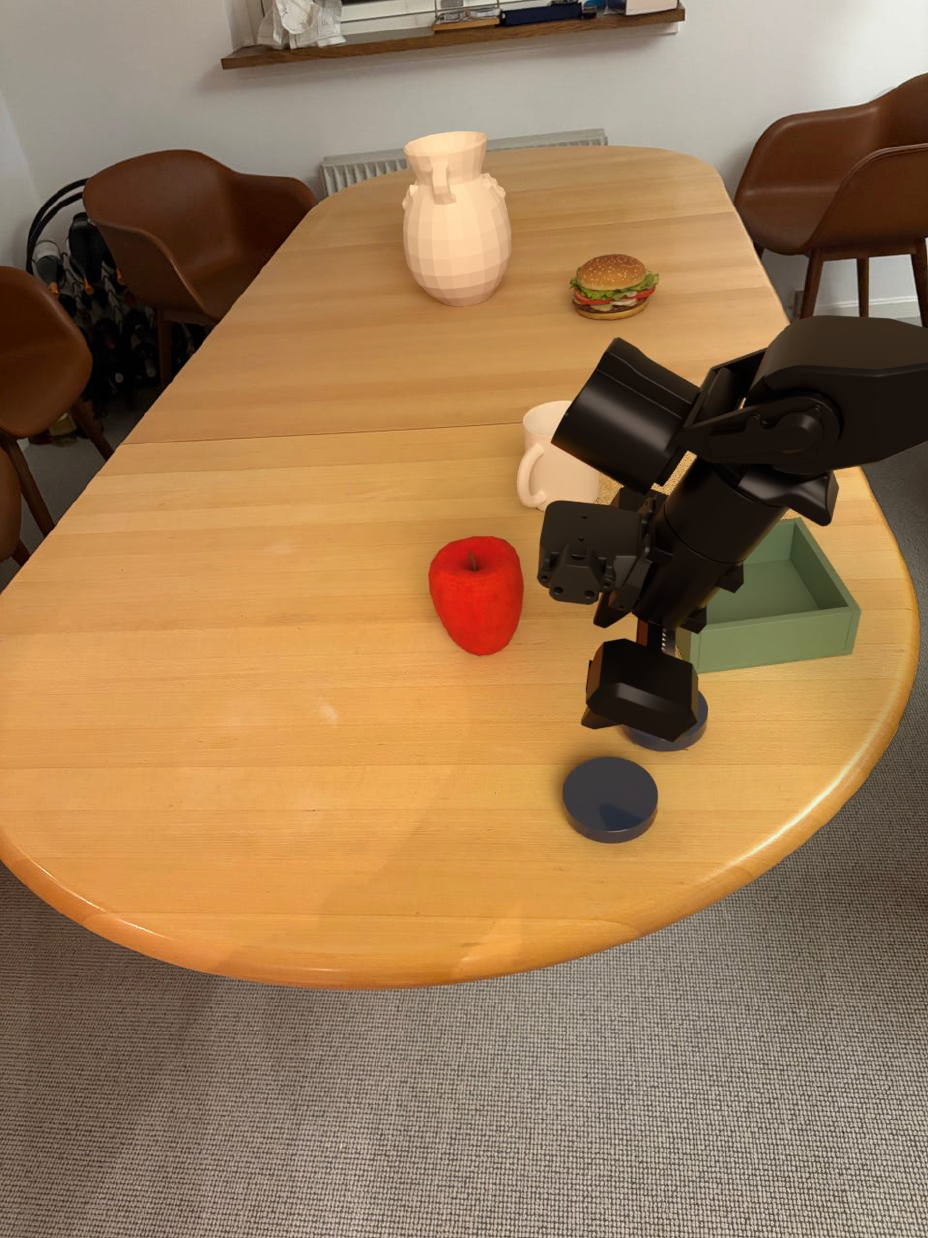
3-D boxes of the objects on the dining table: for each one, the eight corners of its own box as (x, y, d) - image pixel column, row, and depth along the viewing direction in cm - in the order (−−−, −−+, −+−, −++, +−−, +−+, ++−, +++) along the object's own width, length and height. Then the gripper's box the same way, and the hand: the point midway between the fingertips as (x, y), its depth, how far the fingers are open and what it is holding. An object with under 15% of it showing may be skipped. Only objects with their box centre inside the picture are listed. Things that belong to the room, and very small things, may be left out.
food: (671, 312, 140) (673, 261, 135) (587, 330, 139) (586, 279, 134) (638, 285, 151) (639, 236, 146) (560, 301, 149) (558, 253, 144)
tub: (794, 558, 90) (800, 516, 86) (852, 654, 78) (862, 610, 75) (651, 577, 90) (652, 536, 87) (688, 675, 79) (691, 633, 75)
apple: (478, 600, 90) (466, 512, 83) (547, 630, 86) (541, 539, 79) (421, 650, 85) (403, 561, 79) (492, 684, 81) (479, 592, 74)
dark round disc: (645, 771, 71) (646, 750, 69) (667, 845, 66) (668, 825, 64) (557, 782, 71) (555, 762, 70) (571, 857, 66) (570, 837, 64)
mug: (550, 541, 97) (545, 459, 90) (494, 518, 101) (484, 439, 95) (614, 490, 103) (613, 410, 96) (557, 471, 108) (553, 393, 101)
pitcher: (426, 279, 165) (404, 131, 149) (523, 274, 161) (512, 121, 145) (401, 319, 151) (374, 160, 135) (506, 315, 147) (492, 151, 131)
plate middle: (693, 692, 77) (695, 671, 75) (717, 754, 72) (719, 733, 70) (611, 702, 77) (611, 682, 76) (629, 765, 72) (629, 745, 70)
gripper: (594, 382, 56) (508, 543, 67) (561, 592, 44) (462, 744, 55) (751, 447, 57) (639, 594, 69) (762, 668, 45) (624, 801, 56)
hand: (593, 672), depth 62 cm, fingers open, 9 cm apart
